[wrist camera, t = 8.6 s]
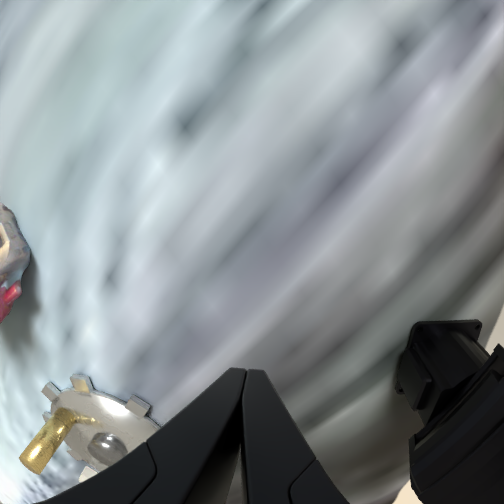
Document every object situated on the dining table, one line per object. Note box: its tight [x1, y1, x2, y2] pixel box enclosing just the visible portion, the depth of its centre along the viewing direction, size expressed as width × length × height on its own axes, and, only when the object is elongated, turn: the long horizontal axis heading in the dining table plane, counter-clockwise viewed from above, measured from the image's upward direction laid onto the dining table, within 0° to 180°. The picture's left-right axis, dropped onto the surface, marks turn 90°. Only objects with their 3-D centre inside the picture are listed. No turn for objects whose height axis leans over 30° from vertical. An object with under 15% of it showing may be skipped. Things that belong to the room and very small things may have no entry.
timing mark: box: [78, 466, 98, 482], centre depth 29 cm, size 3×3×2 cm
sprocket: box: [19, 374, 161, 475], centre depth 22 cm, size 18×18×9 cm
